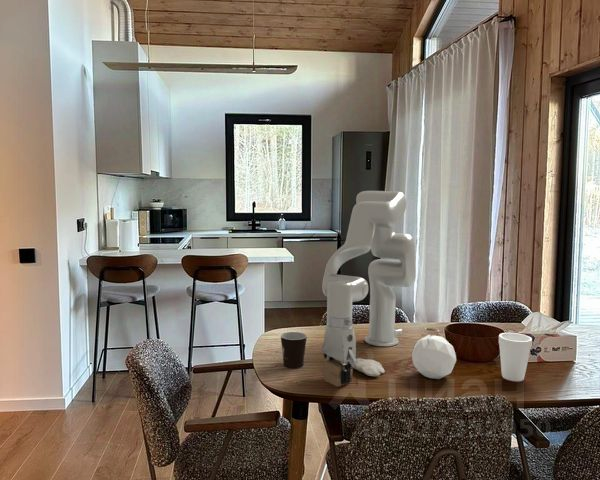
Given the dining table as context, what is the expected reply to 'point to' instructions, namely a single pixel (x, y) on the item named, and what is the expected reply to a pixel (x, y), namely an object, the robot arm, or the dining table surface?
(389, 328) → the robot arm
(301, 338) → the coffee mug
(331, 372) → the walnut block
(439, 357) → the geodesic sphere
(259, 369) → the dining table surface
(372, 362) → the decorative stone
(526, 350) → the foam cup
